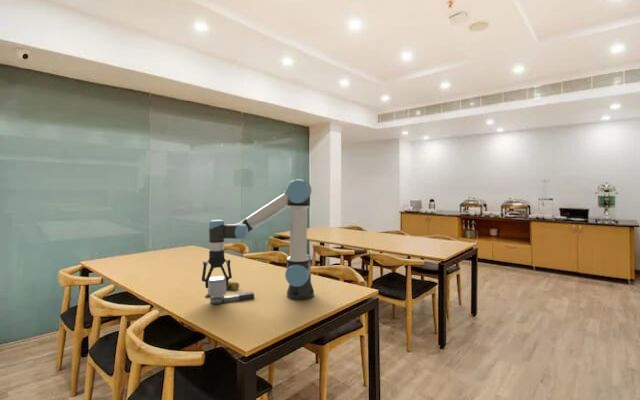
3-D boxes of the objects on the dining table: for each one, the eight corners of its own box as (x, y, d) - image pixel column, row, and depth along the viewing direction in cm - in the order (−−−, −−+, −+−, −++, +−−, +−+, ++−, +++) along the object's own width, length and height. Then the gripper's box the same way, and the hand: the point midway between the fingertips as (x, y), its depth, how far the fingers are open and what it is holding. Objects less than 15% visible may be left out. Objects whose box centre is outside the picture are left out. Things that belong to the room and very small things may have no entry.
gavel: (211, 294, 173) (198, 291, 178) (212, 302, 174) (199, 299, 179) (239, 281, 191) (226, 279, 196) (239, 289, 192) (227, 286, 197)
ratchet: (251, 295, 180) (251, 281, 180) (254, 299, 174) (254, 285, 173) (209, 301, 171) (209, 286, 170) (211, 305, 164) (210, 290, 164)
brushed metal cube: (223, 290, 174) (223, 275, 173) (225, 294, 167) (225, 279, 167) (208, 291, 171) (208, 277, 170) (210, 296, 164) (210, 281, 163)
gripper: (235, 247, 175) (235, 288, 176) (195, 249, 167) (195, 293, 168) (237, 249, 168) (238, 292, 170) (196, 252, 160) (196, 297, 161)
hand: (217, 292), depth 169 cm, fingers closed on brushed metal cube, 7 cm apart
